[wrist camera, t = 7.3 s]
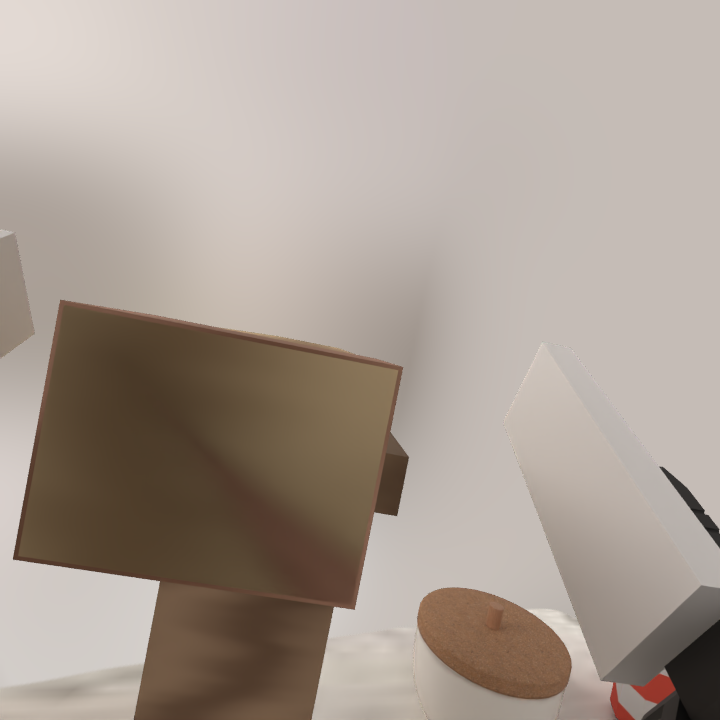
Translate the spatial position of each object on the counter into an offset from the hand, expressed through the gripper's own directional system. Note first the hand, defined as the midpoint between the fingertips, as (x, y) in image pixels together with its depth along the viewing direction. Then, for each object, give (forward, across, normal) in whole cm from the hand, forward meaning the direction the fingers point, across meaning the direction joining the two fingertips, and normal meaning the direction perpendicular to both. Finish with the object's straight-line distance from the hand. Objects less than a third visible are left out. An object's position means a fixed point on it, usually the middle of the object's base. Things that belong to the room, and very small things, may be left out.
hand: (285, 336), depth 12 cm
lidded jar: (+4, +17, -32) cm, 36 cm away
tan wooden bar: (+3, 0, -6) cm, 7 cm away
